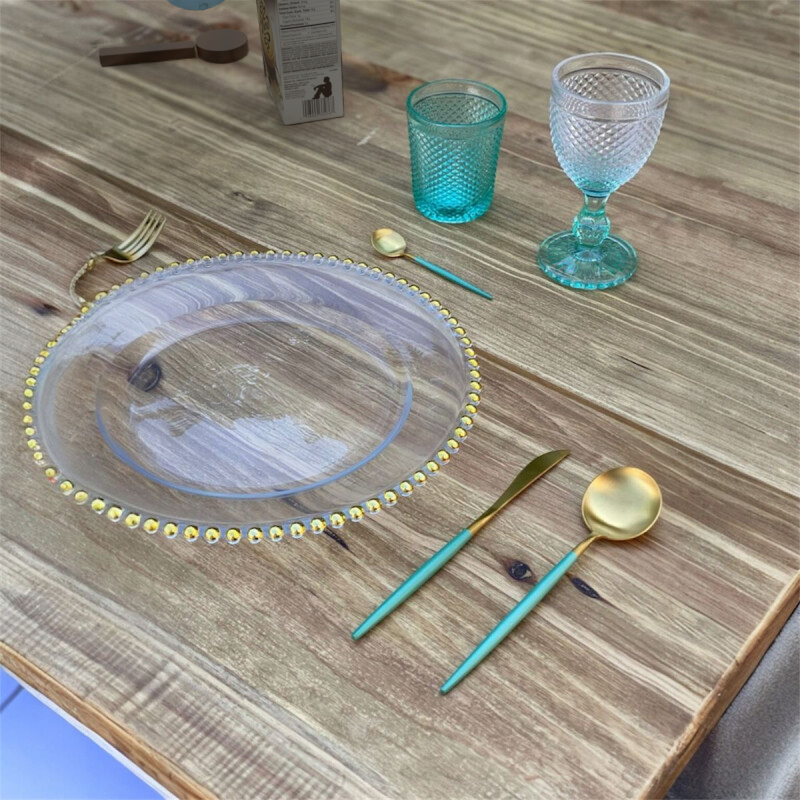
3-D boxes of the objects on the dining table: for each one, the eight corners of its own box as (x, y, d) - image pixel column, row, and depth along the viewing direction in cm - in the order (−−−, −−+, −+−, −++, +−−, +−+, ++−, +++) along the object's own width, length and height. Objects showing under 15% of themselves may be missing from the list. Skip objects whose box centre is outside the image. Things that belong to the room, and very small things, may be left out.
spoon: (100, 74, 98) (97, 61, 97) (102, 51, 102) (99, 39, 101) (251, 60, 100) (249, 48, 99) (246, 38, 104) (245, 26, 103)
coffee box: (263, 85, 96) (244, -82, 85) (323, 76, 98) (312, -90, 86) (283, 127, 90) (265, -47, 79) (347, 116, 92) (339, -56, 80)
